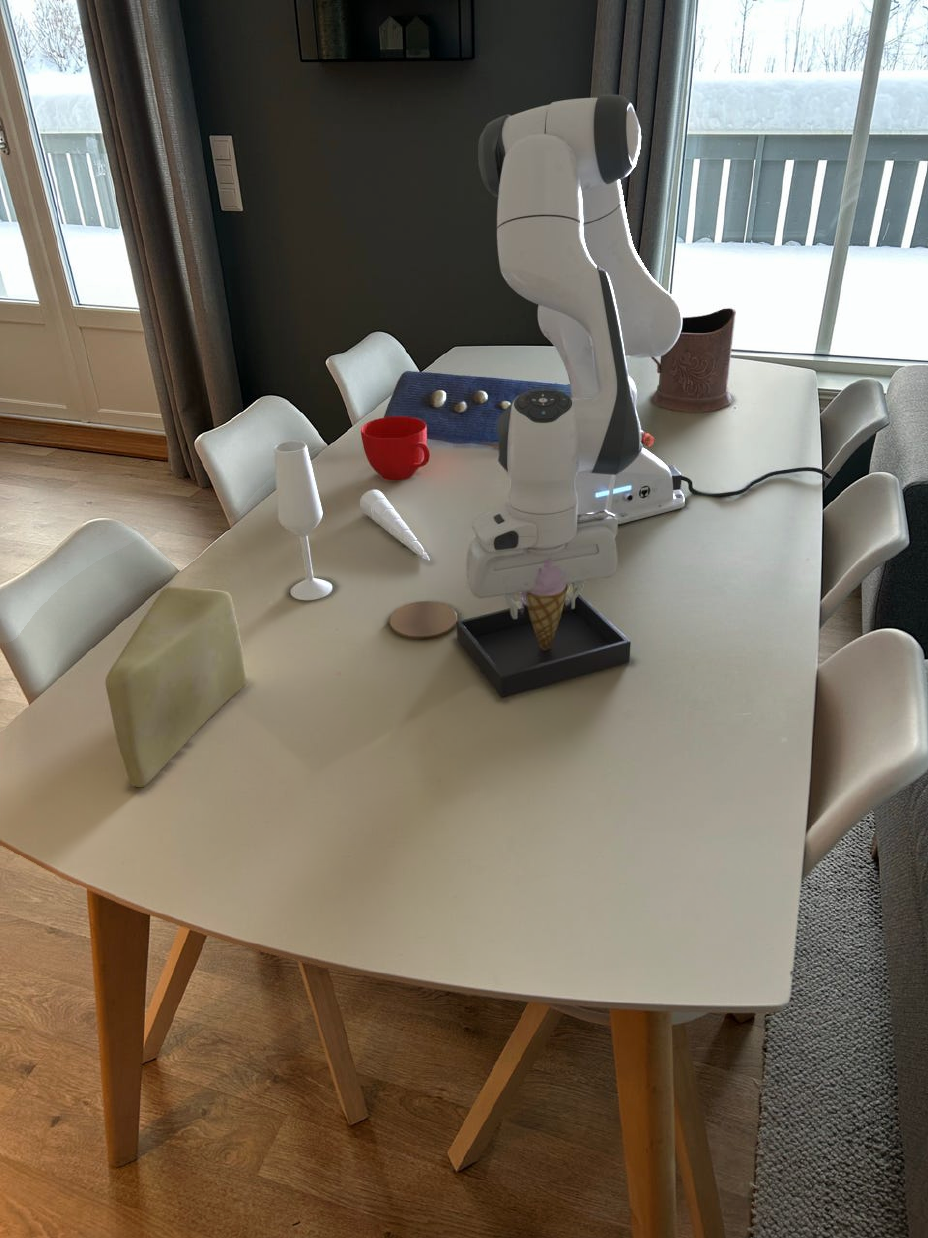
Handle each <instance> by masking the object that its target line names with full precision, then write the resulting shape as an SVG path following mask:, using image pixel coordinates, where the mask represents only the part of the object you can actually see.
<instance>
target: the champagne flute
mask: <svg viewBox="0 0 928 1238" xmlns="http://www.w3.org/2000/svg"><path fill="white" fill-rule="evenodd" d="M307 445H308V444H307V443H306V442H305V441H302V440H285V441H282V442H279V443H277V444H275V445H274V446H273V456H274V457H273V458H274V473H275V474H274V475H275V490H276V507H277V519H278V521H279V523H280V525H282V527H284V528H285V529H286V530H287V531H288V532H290V533H292V534H293V535H295V536H298V537H299V540H300V549H301V553H302V560H303V561H302V562H303V568H304V574H305V579H304V580H302V581H300V582H298V583H296V584H294V585H293V586H292V587H291V589H290V595H291V596H292V597H293V598H294V599H296V600H300V601H315V600H318V599H321V598H324V597H326V596H328V595H330V594H331V592H332V591H333V585H332V583H331V582H329V581H327V580H324V579H320V578H316V577H314V571H313V565H312V558H311V550H310V544H309V543H310V542H309V538H308V537H309V536H308V535H310V534H311V533H313V531H314V530H315V529H316V528H317V527H318V525H319V524H320V522H321V520H322V518H323V508H322V504H321V500H320V496H319V492H318V488H317V483H316V479H315V474H314V470H313V466H312V462H311V458H310V454H309V449H308V446H307Z"/></svg>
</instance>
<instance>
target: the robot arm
mask: <svg viewBox="0 0 928 1238" xmlns="http://www.w3.org/2000/svg"><path fill="white" fill-rule="evenodd" d="M641 142H642V135H641V126H640V122H639V119H638V117H637V114H636V111H635V108H634V106H633V104H632V103H631V102H630V101H629V100H628V99H627V98H626V97H625V96H623V95H620V94H614V93H613V94H610V93H609V94H607V93H606V94H599V95H598V96H597V97H584V98H583V97H582V98H581V97H580V98H571V99H564V100H558V101H553V102H551V103H550V104H547V105H546V104H545V105H541V106H538V107H534V108H530V109H527V110H524V111H521V112H518V113H515V114H513V115H511V114H505V115H502V116H499V117H498V118H495V119H493V120H491V121H490V122H488V123H487V124H486V125H485V127H484V129H483V130H482V132H481V134H480V136H479V139H478V144H477V145H478V146H477V158H478V159H477V160H478V166H479V172H480V176H481V179H482V182H483V185H484V187H485V188H486V190H487V191H488V192H490V194H492V195H493V196H494V197H495V198H497V205H496V206H497V207H496V245H497V247H496V248H497V257H498V265H499V270H500V274H501V275H502V277H503V279H504V280H505V282H506V283H507V285H508V286H509V287H510V288H511V289H512V290H513V291H514V292H515V293H516V294H518V295H519V296H521V297H523V298H524V299H525V300H528V301H529V302H531V303H533V304H535V305H538V306H537V321H538V326H539V329H540V331H541V333H542V334H543V336H544V337H545V338H546V339H548V340H549V341H550V343H551V344H552V345H553V347H554V349H556V351H557V353H558V355H559V357H560V359H561V362H562V363H563V365H564V368H565V371H566V375H567V377H568V380H569V384H570V387H571V398H570V397H569V396H568V395H567V394H565V393H563V392H561V391H558V390H554V389H534V390H529V391H526V392H524V393H522V394H520V395H519V396H518V397H516V398H515V400H514V401H513V403H512V404H511V405H509V406H508V407H507V408H506V410H505V411H504V412H503V413H502V414H501V415H500V416H499V418H498V422H497V431H498V439H499V448H498V458H497V462H498V464H499V465H500V466H501V467H502V468H503V469H504V471H505V472H507V473H508V476H509V480H510V487H509V491H508V495H507V501H506V502H505V503H503V504H501V505H499V506H497V507H495V508H494V509H491V510H489V511H487V512H485V513H482V514H481V515H478V516H477V517H474V519H473V520H472V530H473V534H474V536H475V537H474V538H473V539H472V540H471V541H470V543H469V546H468V549H467V555H466V556H467V557H466V558H467V559H466V573H465V574H466V575H465V576H466V584H467V587H468V589H469V591H470V593H471V594H472V595H473V596H474V597H475V598H476V599H478V600H482V599H488V598H494V597H499V596H503V597H504V599H505V601H506V602H507V604H508V605H509V608H510V613H511V616H512V618H513V619H519V618H524V607H523V605H524V604H523V603H522V602H521V601H515V599H517V593H520V592H524V591H529V590H532V588H533V587H535V579H536V577H537V576H538V573H539V570H540V568H542V567H544V563H540V562H544V561H546V560H548V559H549V558H553V563H552V565H551V566H550V567H553V566H558V567H559V571H560V572H564V575H563V577H562V578H561V580H562V581H564V582H566V584H568V585H569V586H568V589H567V593H566V598H565V602H564V606H563V610H569V609H575V599H576V598H577V596H578V595H579V594H580V593H581V592H582V590H583V589H584V582H586V581H587V582H588V581H593V580H599V579H604V578H610V577H612V576H613V575H614V574H615V572H616V571H617V570H618V551H617V543H616V539H615V538H616V537H617V534H618V529H619V528H618V525H622V524H626V523H629V522H634V521H637V520H641V519H646V518H648V517H653V516H656V515H660V514H664V513H667V512H671V511H676V510H679V509H683V508H684V507H685V504H686V499H685V495H684V494H683V492H682V491H681V489H682V488H681V487H682V481H684V482H685V483H687V488H688V491H689V492H690V493H692V494H693V495H698V496H705V497H710V498H727V497H734V496H739V495H741V494H744V493H747V491H748V490H749V489H751V487H753V486H754V485H756V484H758V483H760V482H762V481H764V480H766V479H768V478H770V477H774V476H779V475H786V474H792V473H793V474H794V473H799V472H801V473H802V472H811V473H812V472H813V473H818V474H820V475H822V476H824V477H825V478H826V479H833V477H832V475H831V474H830V473H829V472H828V471H826V470H824V469H823V468H820V467H814V466H800V467H793V468H792V467H791V468H785V469H778V470H772V471H769V472H767V473H765V474H763V475H761V476H758V477H756V478H755V479H753V480H751V481H750V482H748V483H747V484H746V485H745V486H743V487H742V488H741V489H737V490H732V491H726V492H724V491H723V492H715V493H709V492H703V491H699V490H697V489H695V488H694V487H693V486H694V483H693V480H692V479H691V478H689V477H688V476H685V475H682V474H681V472H680V471H679V470H678V469H677V468H676V467H675V465H672V464H671V465H667V464H666V463H665V462H663V461H662V460H661V459H660V458H659V457H657V456H656V454H654V453H652V452H651V451H649V450H648V449H646V448H645V447H648V448H650V447H652V446H653V445H654V444H655V437H654V436H653V435H651V434H650V433H649V432H644V431H643V430H642V428H641V427H642V425H641V422H640V417H639V415H638V412H637V396H638V392H637V387H636V384H635V382H634V380H633V379H632V378H631V376H629V370H628V364H627V358H634V359H637V358H651V357H655V358H656V357H657V358H658V357H661V356H663V355H665V354H666V353H667V352H668V351H669V350H670V349H671V348H672V347H673V346H674V345H675V343H676V342H677V340H678V338H679V335H680V333H681V329H682V318H683V312H682V308H681V306H680V303H679V302H678V300H677V298H676V297H675V296H674V295H672V294H671V293H669V292H668V291H667V290H665V289H664V288H663V287H662V286H661V285H660V284H659V283H658V282H657V281H656V280H655V279H654V278H653V276H652V275H651V274H650V273H649V271H648V270H647V268H646V267H645V265H644V263H643V262H642V260H641V258H640V256H639V255H638V253H637V251H636V249H635V246H634V244H633V240H632V236H631V233H630V228H629V227H630V226H629V222H628V219H627V217H628V216H627V212H626V206H625V201H624V195H623V189H622V184H621V180H623V179H625V178H626V177H628V176H629V175H630V174H631V172H632V171H633V170H634V168H635V167H636V166H637V163H638V157H639V154H640V150H641ZM626 357H627V358H626ZM643 445H644V446H645V447H644V446H643ZM550 567H548V568H550ZM525 584H528V585H525Z"/></svg>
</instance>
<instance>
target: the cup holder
mask: <svg viewBox="0 0 928 1238" xmlns="http://www.w3.org/2000/svg"><path fill="white" fill-rule="evenodd" d="M736 312H737V311H736V309H734V308H733V307H725V308H722V309H720V310H716V311H714V312H712V313H707V314H702V315H696V316H695V315H694V316H685V317H683V316H682V329H681V333H680V335H679V338H678V340H677V342H676V343H675V345H674V346H673V347H672V348H671V349H670V350H669V351H668V352H667V353H666V354H665V355H663V356H660V362H659V360H658V359H657V358H656V357H650V358H651V359H652V360H653V361H654V363H655V364H656V373H657V374H659V376H658V384H657V386H656V391H655V392H654V393H653V395H652V396H651V400H652V402H653V403H654V404H656V405H657V406H659V407H662V408H665V409H667V410H673V411H678V412H688V413H691V412H692V413H693V412H694V413H695V412H696V413H700V412H713V411H717V410H721V409H723V408H726V407H728V406H729V405H731V403H732V397H731V395H730V393H729V385H728V384H729V376H730V375H729V374H730V367H731V359H732V358H731V357H732V351H733V350H732V348H733V341H734V331H735V322H736Z"/></svg>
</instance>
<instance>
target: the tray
mask: <svg viewBox="0 0 928 1238" xmlns="http://www.w3.org/2000/svg"><path fill="white" fill-rule="evenodd" d="M522 605H523V607H524V618H519V619H513V618H512V616H511V613H510V607H508V608H504V609H500V610H497V611H493V612H488V613H485V614H481V615H476V616H473V617H468V618H465V619H462V620H457V622H456V637H457V638H456V639H457V643H458V644H459V645H460V646H461V648H462V649H463V650H464V651H465V653H466V654H467V656H468V657H469V658H470V659H471V661H472V662H473V663H474V665H475V666H476V667H477V669H478V670H479V671H480V672H481V674H482V675H483V677H485V679H486V681H488V683H489V684H490V685H491V687H492V688H493V689H494V691H495V692H496V693H497V695H498V696H499V697H500V698H501V699H504V698H508V697H511V696H515V695H519V694H521V693H525V692H529V691H531V690H535V689H539V688H543V687H546V686H549V685H554V684H557V683H561V682H564V681H567V680H570V679H574V678H578V677H581V676H584V675H588V674H592V673H595V672H599V671H601V670H605V669H609V668H612V667H616V666H619V665H623V664H627V663H630V657H631V645H632V643H631V640H629V638H627V636H626V635H624V633H622V632H621V631H620V630H619V629H618V628H617V627H616V626H614V625H613V623H611V622H610V621H609V620H608V619H607V618H606V617H605V616H603V614H602V613H600V611H598V609H596V608H595V607H594V606H593V605H592V604H591V603H590V602H589V601H588V600H587V599H585V597H583V596H582V595H581V594H580V593H579V595H578V596H577V598H576V599H575V609H569V610H562V613H561V617H560V620H559V623H558V626H557V629H556V632H555V635H554V638H553V640H552V643H551V646H550V649H548V650H542V649H540V646H539V643H538V640H537V637H536V634H535V631H534V628H533V625H532V622H531V619H530V616H529V612H528V608H527V605H526V604H525V603H524V604H522Z"/></svg>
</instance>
